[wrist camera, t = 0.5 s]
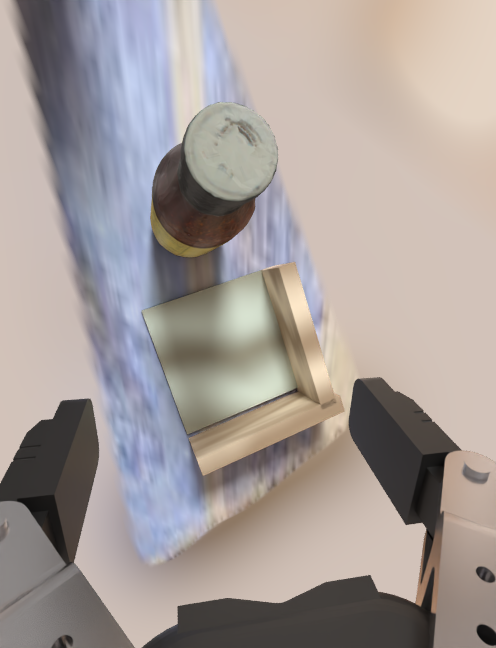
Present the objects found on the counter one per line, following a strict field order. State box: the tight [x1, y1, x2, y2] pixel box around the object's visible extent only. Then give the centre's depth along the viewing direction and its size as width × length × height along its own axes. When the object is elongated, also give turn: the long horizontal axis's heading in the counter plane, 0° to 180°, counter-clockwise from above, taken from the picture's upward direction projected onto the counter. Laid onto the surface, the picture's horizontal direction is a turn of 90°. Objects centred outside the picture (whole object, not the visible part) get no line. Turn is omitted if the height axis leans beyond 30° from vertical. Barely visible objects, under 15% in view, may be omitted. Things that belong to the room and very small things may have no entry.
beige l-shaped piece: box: [142, 262, 344, 476], centre depth 35 cm, size 14×14×5 cm
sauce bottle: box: [150, 102, 278, 257], centre depth 26 cm, size 7×6×20 cm
